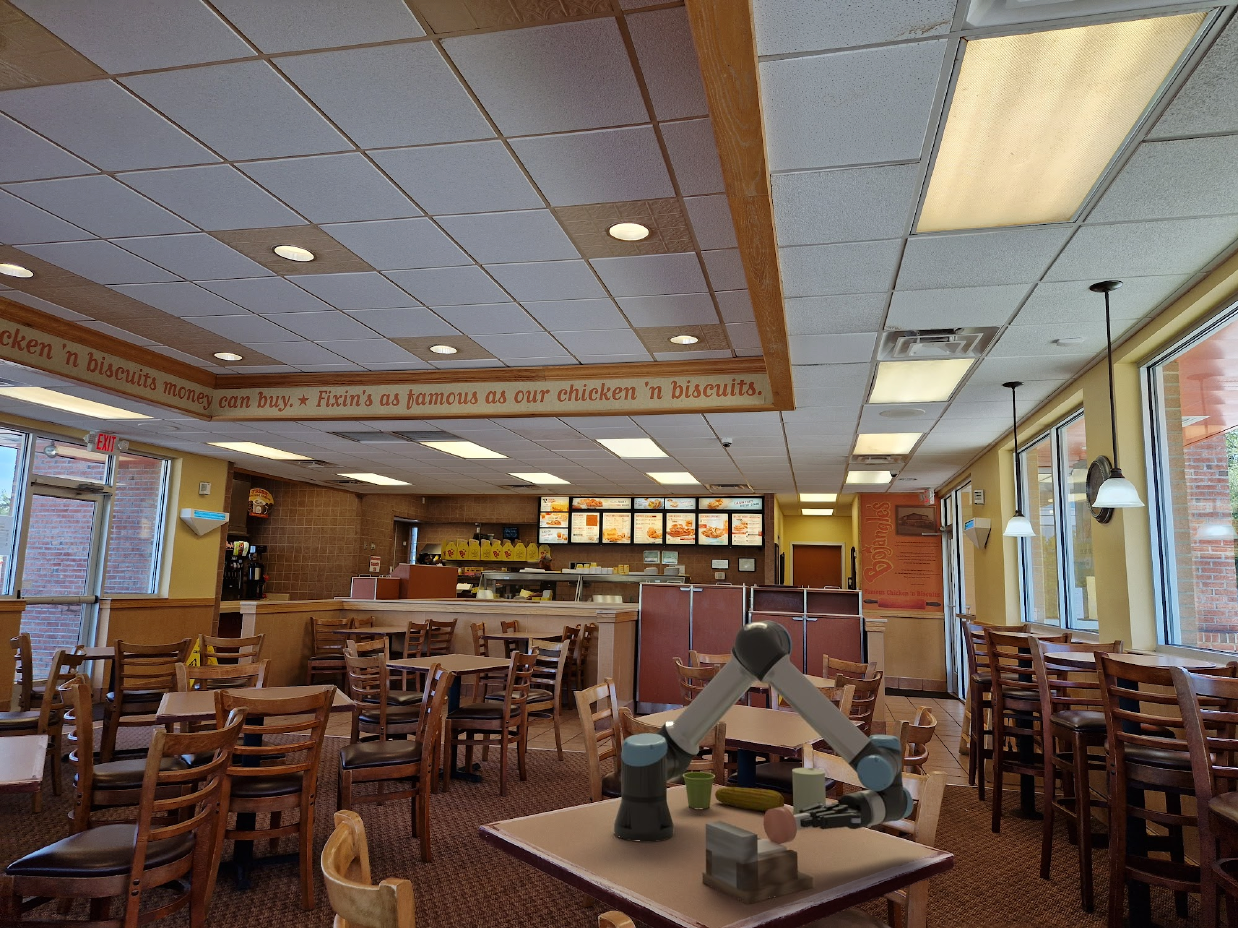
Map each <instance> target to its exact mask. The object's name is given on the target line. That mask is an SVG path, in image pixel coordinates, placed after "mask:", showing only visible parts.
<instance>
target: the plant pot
mask: <svg viewBox="0 0 1238 928" xmlns="http://www.w3.org/2000/svg"><path fill="white" fill-rule="evenodd" d="M715 777H716V775H715V774H713V773H710V772H702V771H693V772H692V771H691V772H686V773H685V772H684V773H682V778H683V779H684V780H683V781H684V783H685V788H686V789H685V790H686V796H687V797H686V798H687V805H688V807H689V806H690V807H689V808H692V809H693V808H704V809H709V808H710V807H711V798H712V789H713V783H714V779H715ZM708 807H709V808H708Z"/></svg>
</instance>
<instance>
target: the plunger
mask: <svg viewBox="0 0 1238 928" xmlns="http://www.w3.org/2000/svg"><path fill="white" fill-rule="evenodd" d="M793 815H794V814H793V812H792V811H791V810H790V809H789V808H787V807H785V806H784V807H778V808H773V809H769V810H768V811H767V812H765V814H764V816H763V828H764V832H765V834H766V837H767V838H768V839H767V838H761V839H760V840H758V856H763V855H767V854H772V853H776V852H781V851H786V850H788V849H787V846H786V845H782V844H787V843H790V842H792V841H794V840H795V838H796V836H797V833H798V832H797V831H798V830H797V825H796V821H795V818H794V816H793Z"/></svg>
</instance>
